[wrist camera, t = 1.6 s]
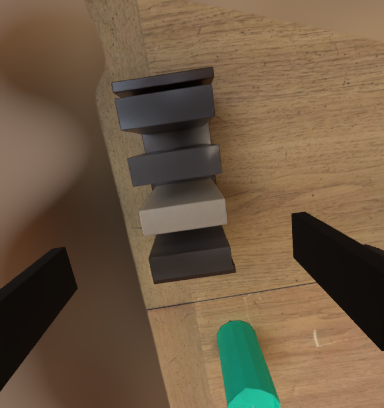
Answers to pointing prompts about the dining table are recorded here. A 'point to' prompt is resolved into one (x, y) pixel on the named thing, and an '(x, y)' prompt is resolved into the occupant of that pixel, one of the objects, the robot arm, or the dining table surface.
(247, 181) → the dining table surface
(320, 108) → the dining table surface
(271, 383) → the candle
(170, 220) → the cream book
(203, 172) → the grey rack
